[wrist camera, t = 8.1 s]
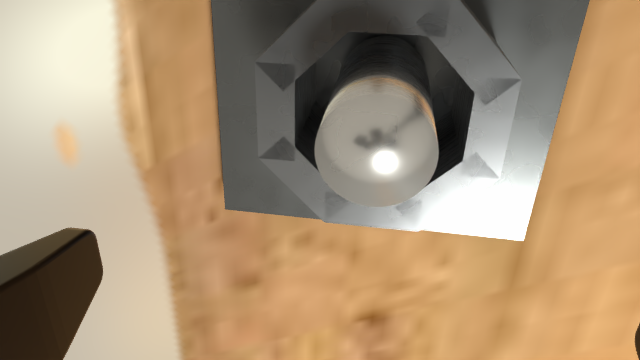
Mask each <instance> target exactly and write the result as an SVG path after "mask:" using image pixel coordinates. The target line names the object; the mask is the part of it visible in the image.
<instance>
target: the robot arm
mask: <svg viewBox="0 0 640 360" xmlns="http://www.w3.org/2000/svg"><path fill="white" fill-rule="evenodd" d="M102 276H103V266H102V262H101V257H100V253H99V248H98V243H97V239H96V236H95V234H94V233H93V232H92V231H91V230H88V229H79V228H66V229H63V230H61V231H58V232H56V233H53V234H51V235H49V236H46V237H44V238H41V239H39V240H37V241H34V242H32V243H30V244H27V245H24V246H22V247H20V248H17V249H15V250H12V251H10V252H8V253H5V254H3V255H1V256H0V360H63V358H64V357H65V355H66V353H67V351H68V349H69V347H70V345H71V343H72V341H73V339H74V337H75V335H76V333H77V330H78V328H79V326H80V324H81V322H82V320H83V318H84V316H85V314H86V312H87V310H88V308H89V306H90V304H91V302H92V300H93V297H94V295H95V293H96V291H97V289H98V287H99V285H100V283H101V280H102ZM635 347H636V351H637V355H638V358H639V360H640V324H639V326H638V328H637V331H636V334H635Z"/></svg>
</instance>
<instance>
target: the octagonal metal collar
mask: <svg viewBox="0 0 640 360" xmlns="http://www.w3.org/2000/svg"><path fill="white" fill-rule="evenodd" d="M349 31H350V32H368V33H385V34H403V35H421V36H428V37H429V39H430V40H431V41H432V42H433V43H434V45H435V46H436V47H437V48H438V49H439V51H440V52H441V53H442V54H443V55H444V57H445V58H446V59H447V60H448V61H449V63H450V64H451V65H452V66H453V67H454V69H455V70H456V71H457V75H456V81H455V87H454V94H453V100H452V106H451V111H450V112H449V113H447V114H446V115H445V116H443V117H442V118H440V119H439V120H438V121H436V122H435V127H436V133H437V140H438V149H439V155H438V162H437V166H436V169H435V172H434V174H433V176H432V178H431V179H430V181H429V182H428V184H427V185H426V186H425V187H424V188H423V189H422V190H421V191H420V192H419V193H418V194H416V195H415V196H413V197H412V198H410V199H408V200H406V201H404V202H402V203H399V204H396V205H391V206H386V207H369V206H363V205H359V204H356V203H353V202H351V201H348V200H346V199H345V198H343V197H341V196H340V195H338V194H337V193H336V192H334V191H333V190H332V189H331V188H330V187H329V186H328V185H327V183H326V182H325V181H324V179H323V178H322V176H321V174H320V172H319V170H318V167H317V164H316V160H315V150H314V148H315V140H316V136H317V133H318V130H319V127H320V125H321V122H322V119H323V117H324V114H325V111H324V110H323V109H322V108H321V107H320V106H319V105H318V104H317V103H316V101H315V81H316V61H317V60H318V59H319V58H320V57H321V56H322V55H324V54H325V53H326V52H327V51H328V50H329V49H330V48H331V47H332V46H333V45H334V44H336V43H337V42H338V41H339V40H340V39H341V38H342V37H343V36H344V35H345V34H346V33H348V32H349ZM521 82H522V78H521V77H520V75H519V74H518V73H517V71H516V70H515V68H514V67H513V65H512V64H511V62H510V61H509V60H508V58H507V57H506V55H505V54H504V52H503V51H502V49H501V48H500V46H499V45H498V44H497V42H496V41H495V40H494V38H493V37H492V36H491V34H490V33H489V32H488V31H487V29H486V28H485V27H484V26H483V24H482V23H481V22H480V20H479V19H478V18H477V17H476V15H475V14H474V13H473V12H472V10H471V9H470V8H469V6H468V5H467V4H466V3H465V1H464V0H314V1H313V2H312V3H311V4H310V5H309V6H308V7H307V8H306V9H305V10H304V11H303V12H302V13H301V14H300V15H299V16H298V17H297V18H296V19H295V20H294V21H293V22H292V23H291V24H290V25H289V26H288V27H287V28H286V29H285V30H284V31H283V32H282V33H281V34H280V35H279V37H278V38H277V39H276V40H275V41H274V42H273V43H272V44H271V45H270V46H269V47H268V48H267V49H266V50H265V51H264V53H263V54H262V55H261V56H260V57H259V58H258V59H257V60H256V61H255V84H256V110H257V137H258V158H259V159H260V160H261V161H262V162H263V163H264V164H265V165H266V166H267V167H268V168H269V169H270V170H271V171H272V172H273V173H274V174H275V175H276V176H277V177H278V178H279V179H280V180H281V181H282V182H283V183H284V184H285V185H287V186H288V187H289V188H290V189H291V190H292V191H293V192H294V193H295V194H296V195H297V196H298V197H299V198H300V199H301V200H302V201H303V202H304V203H305V204H306V205H307V206H308V207H309V208H310V209H311V210H312V211H313V212H314V213H315V214H316V215H317V216H318V217H319V218H320V219H321V220H323V221H324V222H326V223H336V224H346V225H356V226H366V227H376V228H386V229H397V230H407V231H417V232H418V231H420V230H421V229H423V228H424V227H426V226H428V225H429V224H431V223H432V222H434V221H435V220H437V219H438V218H440V217H442V216H443V215H445V214H446V213H448V212H449V211H451V210H452V209H454V208H456V207H457V206H459V205H460V204H462V203H463V202H465V201H466V200H468V199H469V198H471V197H473V196H474V195H476V194H477V193H479V192H480V191H482V190H483V189H485V188H487V187H488V186H490V185H491V184H493V183H494V182H496V181H497V180H499V179H500V176H501V172H502V167H503V163H504V158H505V154H506V149H507V145H508V140H509V136H510V131H511V127H512V122H513V118H514V113H515V109H516V104H517V100H518V95H519V91H520V86H521Z"/></svg>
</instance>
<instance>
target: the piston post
mask: <svg viewBox="0 0 640 360" xmlns="http://www.w3.org/2000/svg"><path fill="white" fill-rule="evenodd" d="M313 1H314V0H211V7H212V21H213V36H214V51H215V66H216V80H217V95H218V110H219V125H220V139H221V154H222V169H223V184H224V198H225V209H227V210H237V211H246V212H256V213H265V214H275V215H284V216H294V217H303V218H313V219H320V218H319V217H318V216H317V215H316V214H315V213H314V212H313V211H312V210H311V209H310V208H309V207H308V206H307V205H306V204H305V203H304V202H303V201H302V200H301V199H300V198H299V197H298V196H297V195H296V194H295V193H294V192H293V191H292V190H291V189H290V188H289V187H288V186H287V185H285V184H284V183H283V182H282V181H281V180H280V179H279V178H278V177H277V176H276V175H275V174H274V173H273V172H272V171H271V170H270V169H269V168H268V167H267V166H266V165H265V164H264V163H263V162H262V161H261V160H260V159H259V158H258V137H257V110H256V84H255V61H256V60H257V59H258V58H259V57H260V56H261V55H262V54H263V53H264V51H265V50H266V49H267V48H268V47H269V46H270V45H271V44H272V43H273V42H274V41H275V40H276V39H277V38H278V37H279V35H280V34H281V33H282V32H283V31H284V30H285V29H286V28H287V27H288V26H289V25H290V24H291V23H292V22H293V21H294V20H295V19H296V18H297V17H298V16H299V15H300V14H301V13H302V12H303V11H304V10H305V9H306V8H307V7H308V6H309V5H310V4H311V3H312V2H313ZM464 1H465V3H466V4H467V5H468V6H469V8H470V9H471V10H472V12H473V13H474V14H475V15H476V17H477V18H478V19H479V20H480V22H481V23H482V24H483V26H484V27H485V28H486V29H487V31H488V32H489V33H490V34H491V36H492V37H493V38H494V40H495V41H496V42H497V44H498V45H499V46H500V48H501V49H502V51H503V52H504V54H505V55H506V57H507V58H508V60H509V61H510V62H511V64H512V65H513V67H514V68H515V70H516V71H517V73H518V74H519V75H520V77H521V78H522V82H521V86H520V91H519V95H518V100H517V104H516V109H515V113H514V118H513V122H512V127H511V131H510V136H509V140H508V145H507V149H506V154H505V158H504V163H503V167H502V172H501V176H500V179H499V180H497V181H496V182H494V183H493V184H491V185H490V186H488V187H487V188H485V189H483V190H482V191H480V192H479V193H477V194H476V195H474V196H473V197H471V198H469V199H468V200H466V201H465V202H463V203H462V204H460V205H459V206H457V207H456V208H454V209H452V210H451V211H449V212H448V213H446V214H445V215H443V216H442V217H440V218H438V219H437V220H435V221H434V222H432V223H431V224H429V225H428V226H426V227H424V228H423V229H421V230H426V231H436V232H445V233H455V234H464V235H474V236H483V237H493V238H502V239H512V240H521V241H523V240H524V236H525V233H526V229H527V226H528V222H529V218H530V215H531V211H532V207H533V204H534V200H535V197H536V193H537V189H538V186H539V182H540V178H541V175H542V171H543V168H544V164H545V160H546V157H547V153H548V149H549V146H550V142H551V138H552V135H553V131H554V128H555V124H556V120H557V117H558V113H559V109H560V106H561V102H562V99H563V95H564V91H565V88H566V84H567V80H568V77H569V73H570V70H571V66H572V62H573V59H574V55H575V51H576V48H577V44H578V41H579V37H580V33H581V30H582V26H583V22H584V19H585V15H586V12H587V8H588V4H589V1H590V0H464ZM456 75H457V71H456V70H455V69H454V67H453V66H452V65H451V64H450V63H449V61H448V60H447V59H446V58H445V57H444V55H443V54H442V53H441V52H440V51H439V49H438V48H437V47H436V46H435V45H434V43H433V42H432V41H431V40H430V39H429V37H428V36H421V35H403V34H385V33H368V32H350V31H349V32H348V33H346V34H345V35H344V36H343V37H342V38H341V39H340V40H339V41H338V42H337V43H336V44H334V45H333V46H332V47H331V48H330V49H329V50H328V51H327V52H326V53H325V54H324V55H322V56H321V57H320V58H319V59H318V60H317V61H316V81H315V101H316V103H317V104H318V105H319V106H320V107H321V108H322V109H323V110H324V111H325V114H324V117H323V119H322V122H321V125H320V127H319V130H318V133H317V136H316V140H315V148H314V150H315V160H316V164H317V167H318V170H319V172H320V174H321V176H322V178H323V179H324V181H325V182H326V183H327V185H328V186H329V187H330V188H331V189H332V190H333V191H334V192H336V193H337V194H338V195H340V196H341V197H343V198H345V199H346V200H348V201H351V202H353V203H356V204H359V205H363V206H369V207H386V206H391V205H396V204H399V203H402V202H404V201H406V200H408V199H410V198H412V197H413V196H415V195H416V194H418V193H419V192H420V191H421V190H422V189H423V188H424V187H425V186H426V185H427V184H428V182H429V181H430V179H431V178H432V176H433V174H434V172H435V169H436V166H437V162H438V155H439V149H438V140H437V133H436V127H435V122H436V121H438V120H439V119H440V118H442V117H443V116H445V115H446V114H447V113H449V112H450V111H451V106H452V100H453V94H454V87H455V81H456Z"/></svg>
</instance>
